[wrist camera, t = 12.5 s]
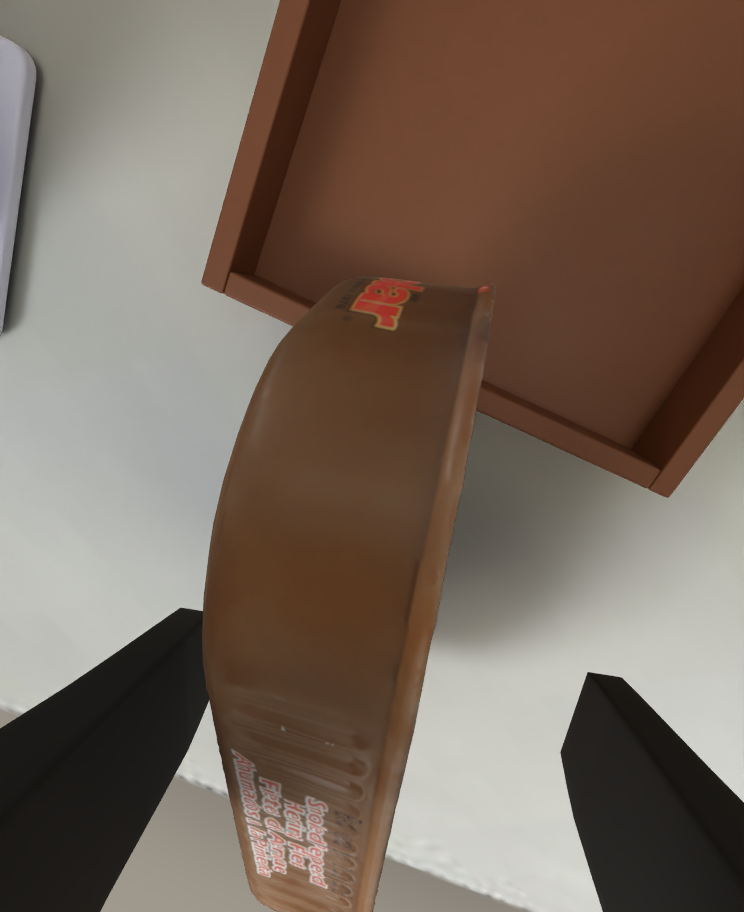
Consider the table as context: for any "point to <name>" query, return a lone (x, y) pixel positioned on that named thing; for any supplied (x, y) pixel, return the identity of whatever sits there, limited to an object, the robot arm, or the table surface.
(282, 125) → the tray
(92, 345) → the table surface
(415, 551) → the tin
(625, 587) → the table surface
